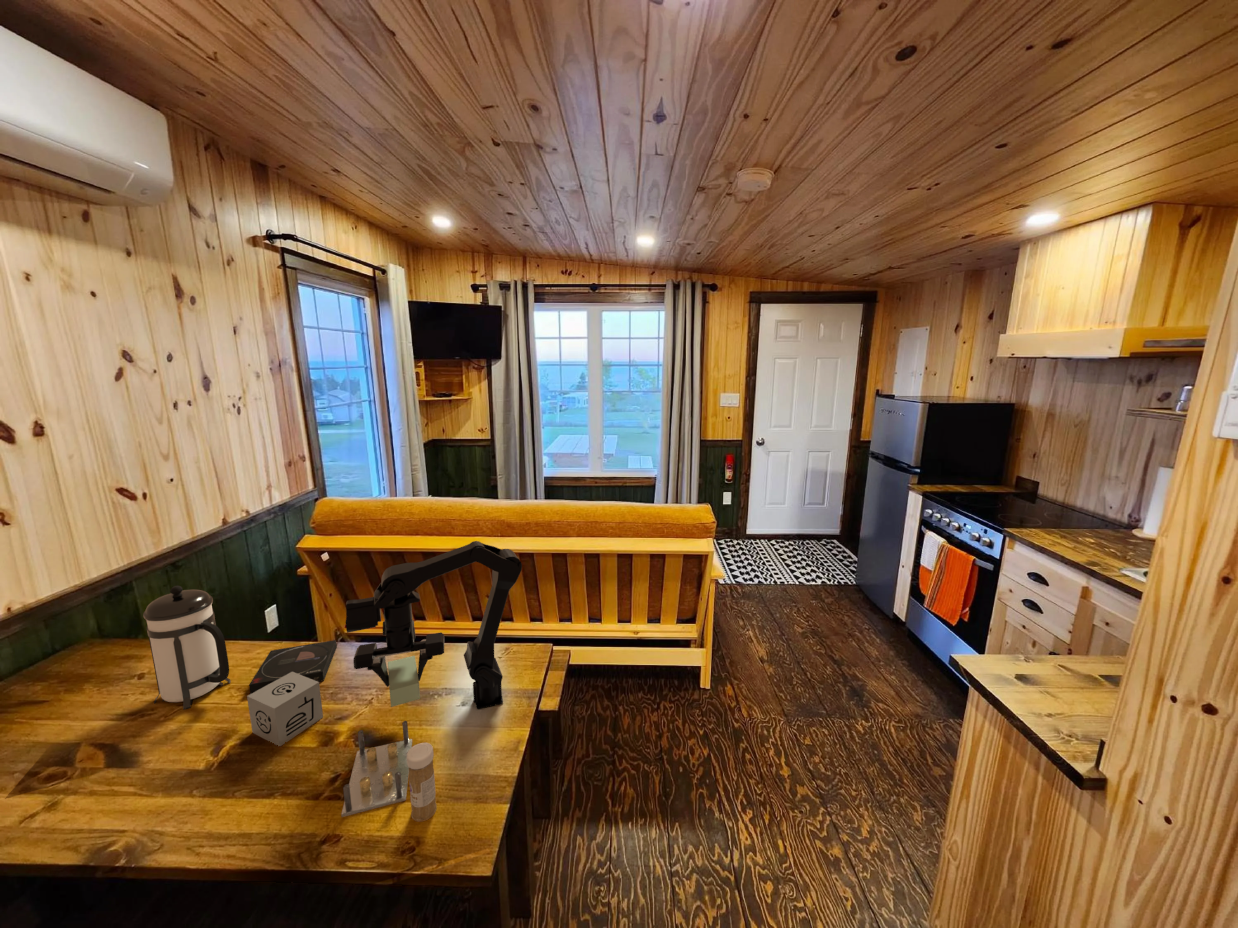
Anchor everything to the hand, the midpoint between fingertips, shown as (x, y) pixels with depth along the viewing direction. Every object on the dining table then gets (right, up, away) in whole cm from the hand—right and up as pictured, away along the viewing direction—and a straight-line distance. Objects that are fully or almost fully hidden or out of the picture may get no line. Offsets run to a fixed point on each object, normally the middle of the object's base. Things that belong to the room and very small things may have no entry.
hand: (403, 682), depth 110 cm
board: (0, -1, 0) cm, 1 cm away
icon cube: (-28, -11, +1) cm, 30 cm away
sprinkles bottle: (+14, -15, -21) cm, 29 cm away
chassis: (+1, -13, -13) cm, 19 cm away
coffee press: (-59, -9, +12) cm, 61 cm away
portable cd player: (-40, -8, +22) cm, 46 cm away
